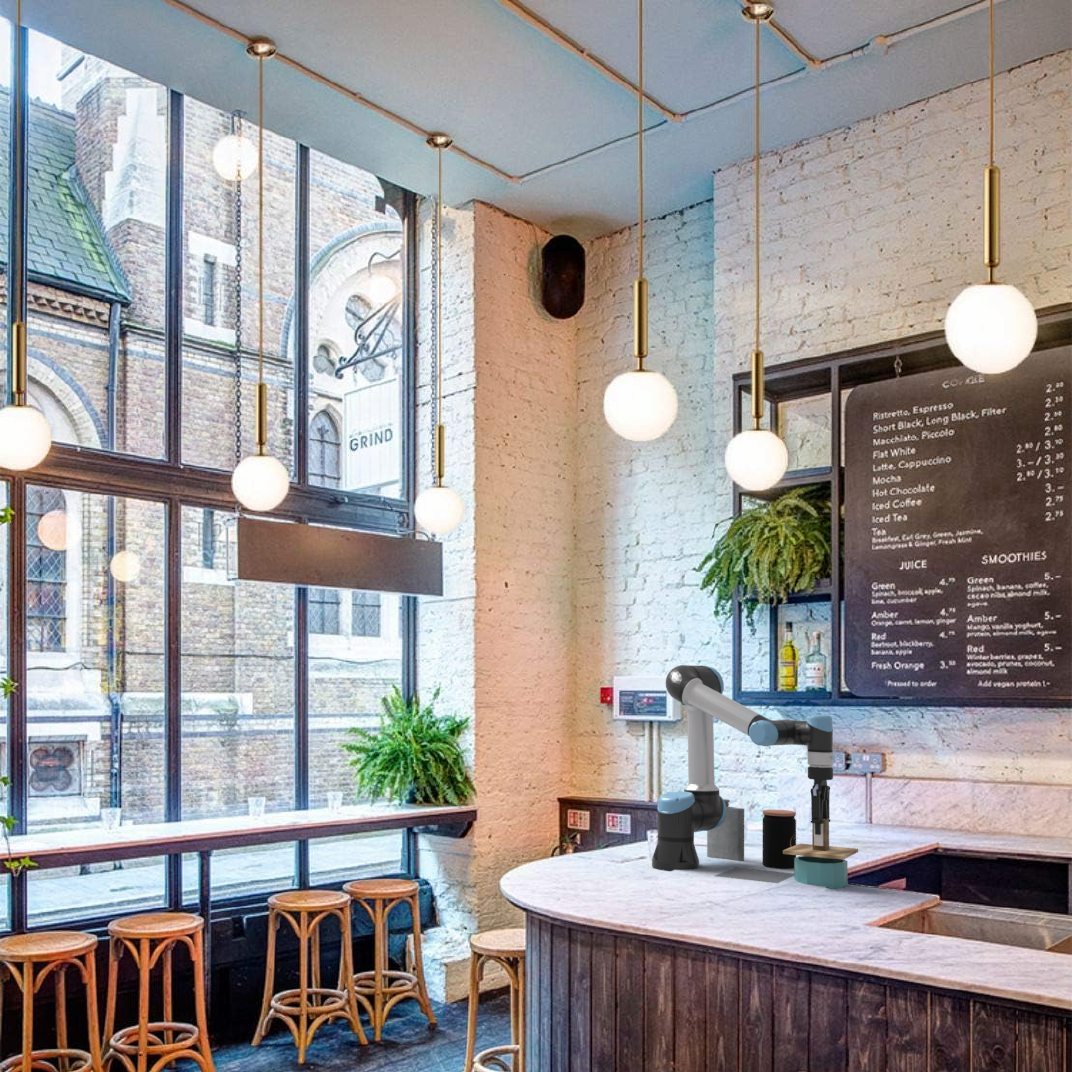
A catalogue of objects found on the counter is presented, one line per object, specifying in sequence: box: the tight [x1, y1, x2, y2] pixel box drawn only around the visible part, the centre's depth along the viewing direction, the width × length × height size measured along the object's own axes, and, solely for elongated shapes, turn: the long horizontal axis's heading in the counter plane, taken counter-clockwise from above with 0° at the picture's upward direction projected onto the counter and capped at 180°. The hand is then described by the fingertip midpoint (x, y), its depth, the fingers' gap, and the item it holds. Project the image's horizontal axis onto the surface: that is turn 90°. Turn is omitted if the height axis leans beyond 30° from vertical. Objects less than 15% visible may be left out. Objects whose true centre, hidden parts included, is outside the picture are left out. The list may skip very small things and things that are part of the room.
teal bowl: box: [793, 855, 849, 889], centre depth 348 cm, size 15×15×7 cm
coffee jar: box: [762, 809, 797, 870], centre depth 376 cm, size 11×11×18 cm
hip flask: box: [706, 798, 745, 862], centre depth 391 cm, size 16×4×20 cm, turn 37°
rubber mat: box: [714, 866, 795, 884], centre depth 357 cm, size 20×20×1 cm
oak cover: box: [783, 818, 859, 860], centre depth 350 cm, size 18×18×10 cm
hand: (820, 844), depth 349 cm, fingers closed on oak cover, 4 cm apart
